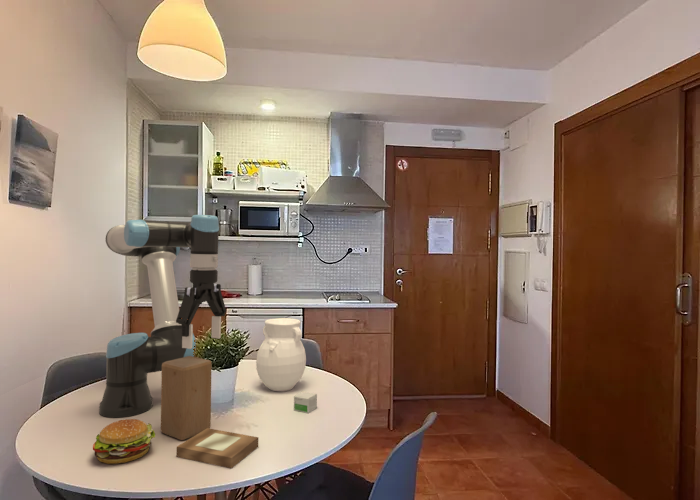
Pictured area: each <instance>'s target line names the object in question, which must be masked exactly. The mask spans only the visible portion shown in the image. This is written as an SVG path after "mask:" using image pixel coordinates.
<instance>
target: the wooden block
mask: <svg viewBox="0 0 700 500" xmlns="http://www.w3.org/2000/svg"><path fill="white" fill-rule="evenodd" d="M212 369H213V367H212V361H211V360H209V359H205V358H202V357H196V356H194V357H192V356H187V357H183V358H179V359H174V360H170V361H166V362H164V363H162V371H161V381H160V382H161V387H160V389H161V391H160V392H161V393H160V394H161V395H160V405H161V406H160V432H161V433H162V434H165V435H167V436H169V437H171V438H174V439H177V440H180V441H186V440H188V439H190V438H192V437H194V436H195V435H197V434H199V433H200V432H202V431H204V430H205V429H207V428H209V429H211V426H212V424H211V420H212V415H211V414H212Z"/></svg>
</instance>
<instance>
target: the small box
mask: <svg viewBox="0 0 700 500" xmlns="http://www.w3.org/2000/svg"><path fill="white" fill-rule="evenodd" d="M317 408H318V393H316V392H315V393H314V392H309V391H303V390H302V391H301V392H298V393H297V394H295V395H294V396H293V411H295V412H301V413H306V414H310V413H312V411H315V409H317Z"/></svg>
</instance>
